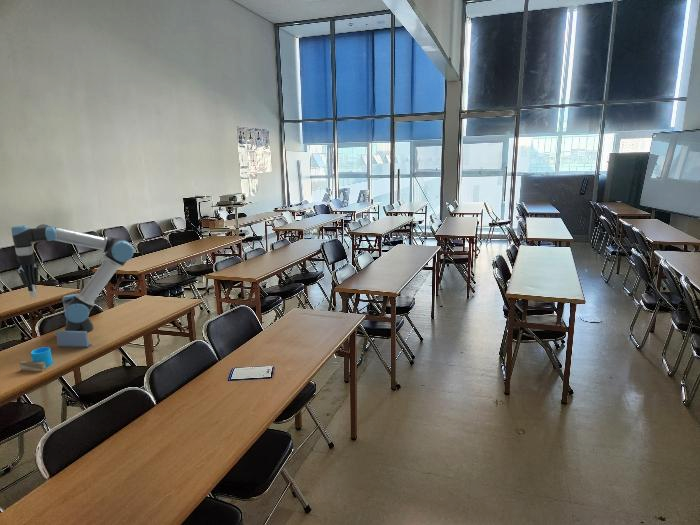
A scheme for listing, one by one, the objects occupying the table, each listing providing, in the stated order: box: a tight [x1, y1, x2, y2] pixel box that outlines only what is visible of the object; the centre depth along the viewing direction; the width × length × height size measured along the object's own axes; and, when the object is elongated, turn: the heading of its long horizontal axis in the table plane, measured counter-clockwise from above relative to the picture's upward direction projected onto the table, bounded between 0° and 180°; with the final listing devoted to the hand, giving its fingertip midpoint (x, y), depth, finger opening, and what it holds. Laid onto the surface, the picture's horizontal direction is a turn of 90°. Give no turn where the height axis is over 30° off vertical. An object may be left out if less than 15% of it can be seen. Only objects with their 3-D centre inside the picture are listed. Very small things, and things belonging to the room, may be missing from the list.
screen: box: [55, 330, 93, 349], centre depth 250 cm, size 4×18×9 cm, turn 82°
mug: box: [30, 346, 54, 368], centre depth 229 cm, size 12×8×8 cm
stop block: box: [19, 360, 47, 372], centre depth 223 cm, size 2×12×4 cm, turn 82°
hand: (33, 296), depth 246 cm, fingers closed
